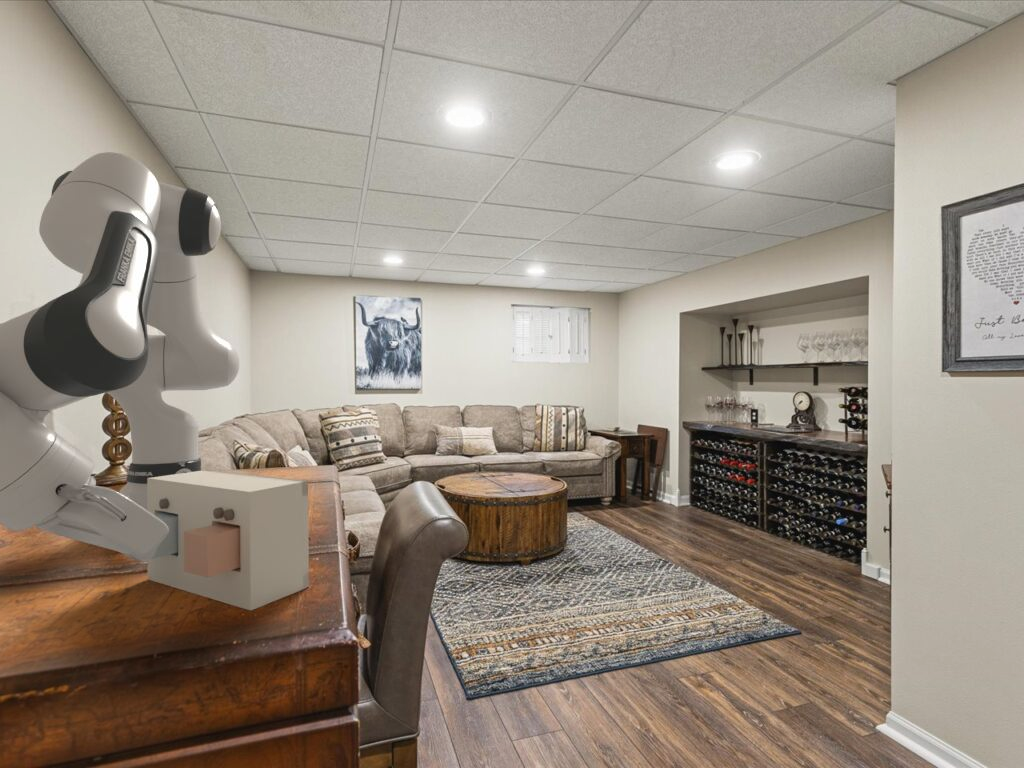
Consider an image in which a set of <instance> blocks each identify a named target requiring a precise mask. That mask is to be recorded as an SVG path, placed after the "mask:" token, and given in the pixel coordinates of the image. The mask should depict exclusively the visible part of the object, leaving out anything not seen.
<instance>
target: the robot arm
mask: <svg viewBox="0 0 1024 768" xmlns="http://www.w3.org/2000/svg"><path fill="white" fill-rule="evenodd" d="M220 216H221V215H220V213H219V210H218V205H217V203H215V202H214V200H213V198H212V197H211V196H209V195H208V194H206V193H203V192H202V191H198V190H195V189H192V188H187V189H186V188H183V187H179V186H178V185H177V186H176V185H173V184H168V183H165V182H162V181H158V179H157V177H155V175H154V174H153V173H152V171H151V170H150V169H149V168H148V167H146V165H145V164H143V163H142V162H140V161H139V160H137V159H135V158H133V157H131V156H129V155H126V154H122V153H120V152H119V153H118V152H100V153H96V154H94V155H92V156H90V157H89V158H88V159H85V160H84V161H82V162H81V163H80V164H79V165H77V166H76V167H75V168H73V169H72V170H67V171H66V172H64V173H62V174H61V175H60V176H58V177H57V178H56V179H55V180H54V183H53V186H52V189H51V195H50V198H49V200H48V201H47V203H46V205H45V207H44V209H43V211H42V213H41V216H40V221H39V226H38V227H39V228H38V230H39V231H38V232H39V235H40V238H41V239H42V242H43V244H44V245H45V247H46V248H47V250H48V251H49V252H50V253H51V255H53V256H54V257H55V259H56V260H58V261H59V262H61V263H62V264H63V265H64V266H66V267H68V268H70V269H71V270H74V271H75V272H77V273H80V274H82V276H81V279H80V281H79V284H78V285H77V286H76V287H75V288H73V289H72V290H70V291H68V292H65V293H64V294H61V295H60V296H57V297H56V298H54V299H52V300H49V301H48V302H47V303H44V304H43V305H41V306H39V307H37V308H34V309H32V310H30V311H28V312H27V311H26V312H25V313H23V314H20V315H18V316H16V317H14V318H12V319H9V320H7V321H5V322H2V323H0V525H1V526H3V527H5V528H6V529H8V530H10V531H13V532H19V531H24V530H27V529H30V528H31V527H35V528H36V529H38V530H43V531H45V532H48V533H51V534H53V535H56V536H58V537H59V536H60V537H64V538H67V539H70V540H75V541H79V542H82V543H85V544H90V545H93V546H97V547H99V548H100V547H101V548H104V549H107V550H112V551H115V552H118V553H121V554H122V555H124V556H126V557H127V558H129V559H130V560H135V561H139V562H142V563H148V561H149V560H150V559H151V558H152V557H153V555H154V554H155V553H156V548H157V547H158V546H159V545H160V543H161V542H162V541H163V540H164V538H165V537H166V536H167V535H168V533H169V528H168V526H167V525H166V524H165V523H164V522H163V521H162V520H160V519H159V518H158V517H156V516H155V515H153V514H152V513H150V512H149V511H147V478H152V477H159V476H167V475H174V474H181V473H188V472H195V471H202V468H203V465H202V459H201V458H200V456H199V447H200V446H199V438H200V437H199V435H200V434H199V432H200V431H199V428H200V427H199V424H198V420H197V419H196V417H194V416H193V415H192V414H190V413H189V412H188V411H185V410H183V409H181V408H177V407H175V406H173V405H169V404H168V403H166V402H165V401H164V399H163V397H162V393H163V392H166V391H207V390H212V389H220V388H224V387H225V388H226V387H228V386H229V385H231V384H232V382H234V380H235V379H236V377H237V376H238V373H239V371H240V358H239V357H240V356H239V354H238V352H237V350H236V348H235V347H234V346H233V345H232V344H231V343H230V342H229V341H228V340H226V339H224V338H222V337H221V336H220V335H218V334H217V332H215V331H214V330H213V329H212V328H211V327H210V326H209V325H208V323H207V322H206V320H205V319H204V316H203V314H202V313H201V309H200V303H199V298H198V297H199V295H198V286H197V284H198V283H197V260H196V256H197V257H199V256H205V255H207V254H208V253H210V252H212V251H214V250H215V247H216V244H217V242H218V240H219V239H220V237H221V231H222V220H221V217H220ZM147 325H148V326H150V327H152V328H155V329H157V330H158V331H160V332H162V333H163V335H162V334H148V326H147ZM105 393H107V394H108V395H110V397H112V398H113V399H114V400H115V401H116V403H118V404H119V406H120V407H121V409H122V410H123V411H124V413H125V415H126V418H127V421H128V425H129V429H130V439H131V453H132V454H131V456H132V457H131V459H132V462H131V463H129V465H127V466H126V467H127V468H128V469H126V471H127V472H126V474H127V475H126V482H127V483H126V484H125V485H124V486H123V487H122V489H120V490H119V491H116V490H115V489H112V488H110V487H105V486H99V485H96V484H97V481H96V478H94V477H93V476H91V475H92V474H93V472H94V467H95V464H94V460H93V459H92V458H90V457H89V456H88V455H86V454H85V453H84V452H82V451H81V450H80V449H78V448H77V447H76V446H74V445H73V444H72V443H70V441H68V440H66V439H65V438H64V437H62V436H61V435H60V434H58V433H57V432H56V431H54V429H52V428H50V427H48V426H47V425H46V424H45V422H44V419H45V417H47V416H48V414H49V413H51V411H54V410H57V409H61V408H63V407H66V406H69V405H72V404H74V403H77V402H79V401H82V400H84V399H87V398H89V397H93V396H98V395H101V394H105Z"/></svg>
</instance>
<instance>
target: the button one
mask: <svg viewBox="0 0 1024 768" xmlns="http://www.w3.org/2000/svg"><path fill="white" fill-rule="evenodd" d="M153 515H155V516H156V517H158V518H159V519H160V520H162V521H163V522H164V523H165V524H166V525H167V526H168V528H169V533H168V535H167V536H166V537H165V538H164V540H163V541H162V542H161V543H160V545H159V546H158V547H157V548H156V553H155V554H154V555H153V557H152V558H151V559H154V558H158V557H162V556H166V555H170V554H173V553H177V552H178V514H174V513H169V512H163V513H157V514H153ZM151 559H150V560H151Z"/></svg>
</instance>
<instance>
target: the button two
mask: <svg viewBox="0 0 1024 768" xmlns="http://www.w3.org/2000/svg"><path fill="white" fill-rule="evenodd" d="M240 567H241V562H240V526H239V525H234V524H228V523H219V524H215V525H211V526H207V527H202V528H198V529H194V530H190V531H185V532H184V571H185V572H188V573H192V574H196V575H199V576H203V577H207V578H208V577H211V576H215V575H218V574H221V573H224V572H227V571H230V570H233V569H236V568H240Z"/></svg>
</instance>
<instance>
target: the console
mask: <svg viewBox="0 0 1024 768" xmlns="http://www.w3.org/2000/svg"><path fill="white" fill-rule="evenodd" d="M147 511H149V512H150V513H152V514H157V513H163V512H169V513H174V514H178V552H177V553H173V554H170V555H166V556H162V557H158V558H154V559H151V560H149V561H148V562H147V580H149V581H152V582H155V583H159V584H162V585H165V586H167V587H168V586H169V587H172V588H174V589H178V590H181V591H185V592H188V593H191V594H194V595H198V596H201V597H205V598H207V599H210V600H214V601H216V602H217V601H218V602H221V603H224V604H227V605H231V606H234V607H237V608H240V609H244V610H247V611H253V610H255V609H259V608H260V607H263V606H265V605H268V604H270V603H273V602H276V601H278V600H280V599H282V598H286V597H288V596H290V595H293V594H295V593H298V592H300V591H303V590H305V589H308V588H309V587H310V585H309V584H310V581H309V580H310V579H309V577H310V576H309V575H310V572H309V571H310V568H309V567H310V565H309V564H310V563H309V562H310V561H309V559H310V554H309V544H310V543H309V542H310V540H309V538H310V536H309V480H305V479H304V480H303V479H302V480H301V479H295V478H286V477H277V476H268V475H267V476H266V475H260V474H259V475H257V474H246V473H239V472H230V471H221V470H220V471H219V470H212V469H204V470H202V469H201V471H195V472H188V473H181V474H174V475H167V476H159V477H152V478H147ZM219 523H228V524H234V525H239V526H240V562H241V567H240V568H236V569H233V570H230V571H227V572H224V573H221V574H218V575H215V576H211V577H208V578H207V577H203V576H199V575H196V574H192V573H188V572H185V571H184V532H185V531H190V530H194V529H198V528H202V527H207V526H211V525H215V524H219ZM307 587H308V588H307Z"/></svg>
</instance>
